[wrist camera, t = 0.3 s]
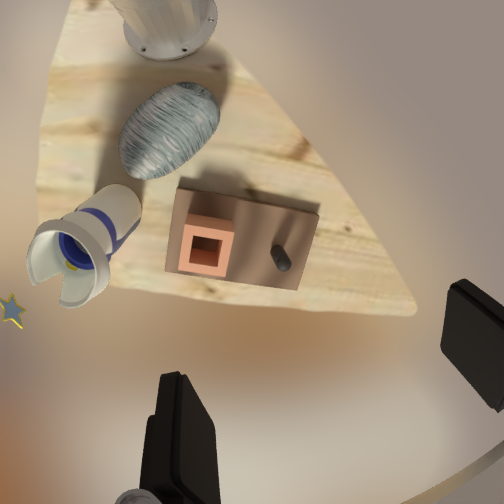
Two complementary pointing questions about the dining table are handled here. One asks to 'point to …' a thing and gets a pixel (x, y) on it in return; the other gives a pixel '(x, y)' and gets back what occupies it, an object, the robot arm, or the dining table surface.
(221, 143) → the dining table surface
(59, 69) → the dining table surface
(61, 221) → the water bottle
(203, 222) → the orange hollow square block
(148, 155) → the grey streaked oval part
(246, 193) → the dining table surface
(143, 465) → the robot arm
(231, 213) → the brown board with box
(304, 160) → the dining table surface
